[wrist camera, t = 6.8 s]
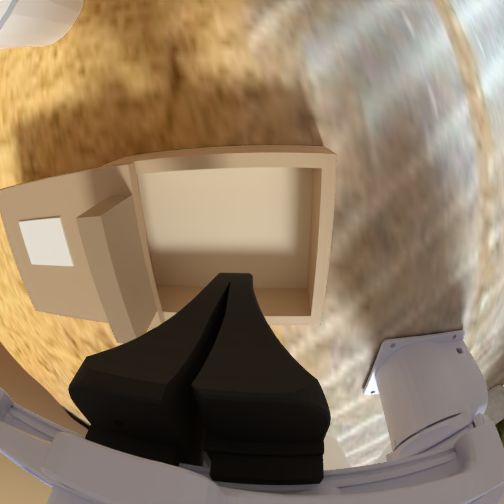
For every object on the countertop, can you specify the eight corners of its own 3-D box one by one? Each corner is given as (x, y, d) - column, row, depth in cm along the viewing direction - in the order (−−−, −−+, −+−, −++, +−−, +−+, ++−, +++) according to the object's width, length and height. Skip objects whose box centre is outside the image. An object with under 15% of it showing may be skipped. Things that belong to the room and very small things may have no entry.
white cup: (81, -35, 9) (27, -60, 3) (100, 12, 11) (35, -12, 5) (23, 19, 10) (-35, 14, 4) (36, 70, 13) (-31, 74, 7)
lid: (133, 162, 13) (94, 179, 9) (165, 323, 17) (146, 364, 14) (1, 188, 14) (-34, 207, 10) (39, 306, 18) (15, 333, 15)
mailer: (324, 146, 15) (337, 154, 12) (314, 291, 20) (320, 324, 17) (129, 155, 16) (100, 166, 13) (153, 287, 21) (135, 317, 18)
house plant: (490, 414, 31) (513, 479, 16) (437, 431, 31) (457, 510, 17) (532, 361, 24) (569, 433, 10) (483, 377, 25) (522, 472, 10)
